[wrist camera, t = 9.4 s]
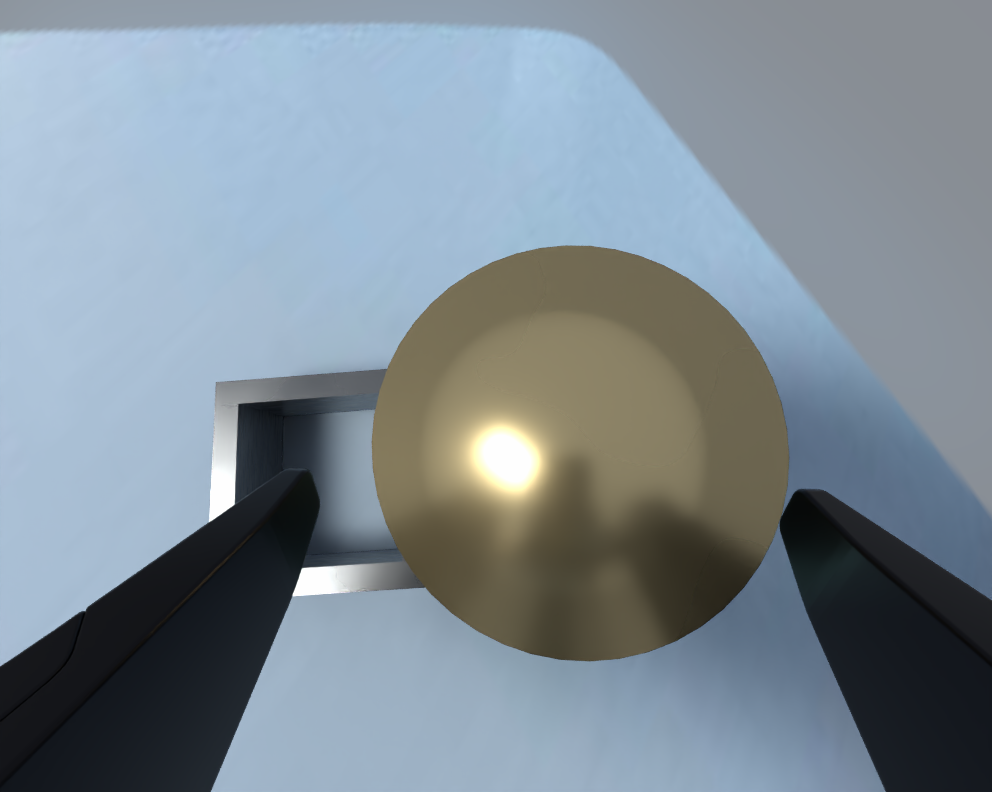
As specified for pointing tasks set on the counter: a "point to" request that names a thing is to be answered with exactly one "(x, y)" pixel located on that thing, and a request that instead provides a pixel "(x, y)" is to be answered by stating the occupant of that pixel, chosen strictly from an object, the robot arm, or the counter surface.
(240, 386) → the hole rail
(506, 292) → the brass post
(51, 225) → the counter surface
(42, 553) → the counter surface
